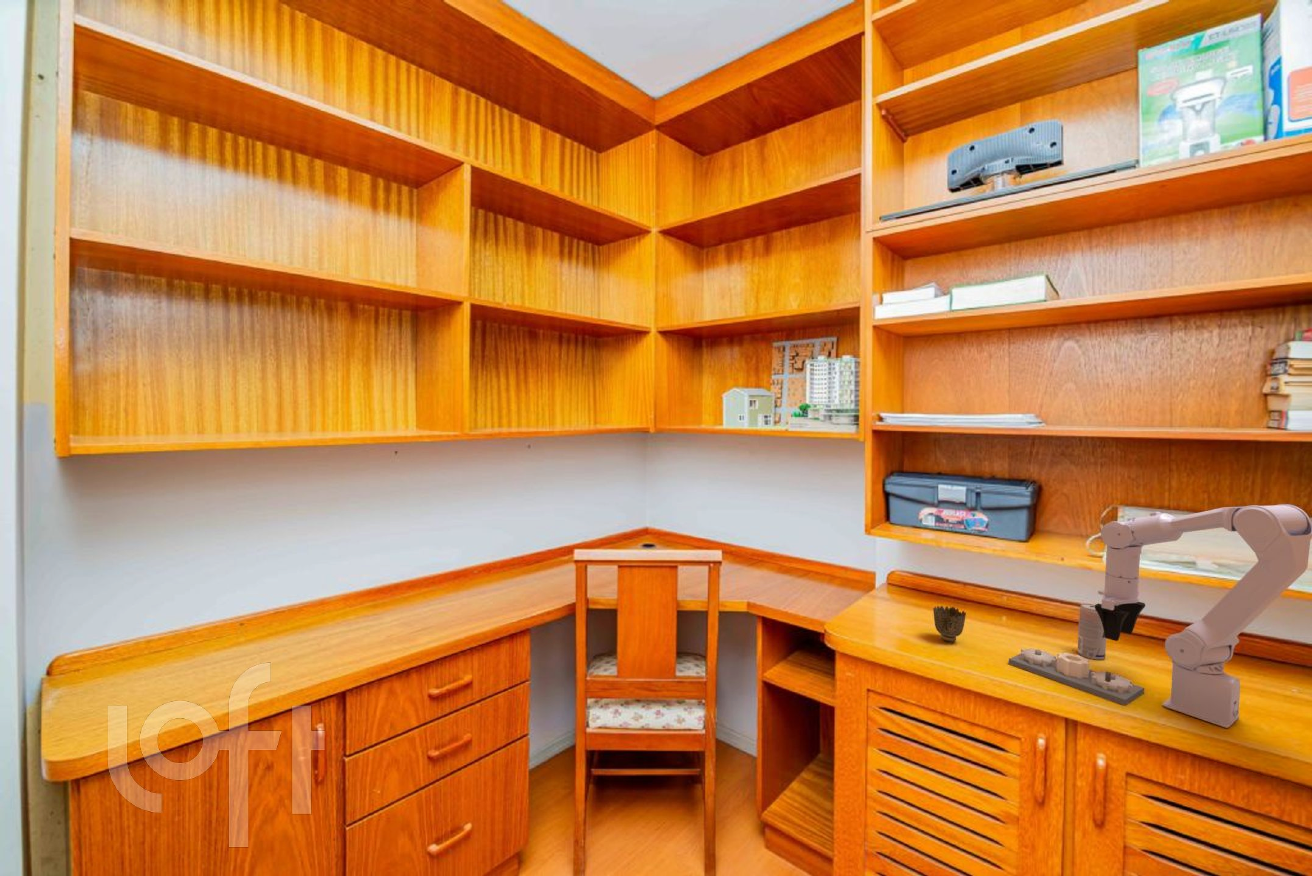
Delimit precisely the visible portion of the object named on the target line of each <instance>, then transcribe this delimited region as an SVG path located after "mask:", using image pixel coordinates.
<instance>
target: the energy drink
mask: <svg viewBox="0 0 1312 876" xmlns="http://www.w3.org/2000/svg"><path fill="white" fill-rule="evenodd" d="M1095 605H1096V604H1092V603H1082V604H1080V606H1079V612H1078V615H1079V616H1078V635H1077V636H1078V637H1077V638H1078V639H1077V653H1078V655H1079V656H1081V657H1083V658H1085V659H1089V660H1090V659H1091V660H1094V661H1095V660H1097V661H1102V660H1104V659H1106V651H1107V650H1106V649H1107V638H1106V637H1105V634H1104V630H1103V625H1102V622H1101V619H1100V617H1099V614H1098V613H1097V611H1096V610H1095Z"/></svg>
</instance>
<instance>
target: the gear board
mask: <svg viewBox="0 0 1312 876" xmlns="http://www.w3.org/2000/svg"><path fill="white" fill-rule="evenodd" d="M1070 660H1072V659H1070ZM1074 661H1076V660H1074ZM1007 662H1008V665H1010V666H1013V667H1016V668H1018V667H1019V668H1020V669H1022V670H1025V671H1028V672H1029V673H1032V674H1035V675H1039V676H1040V677H1045V678H1047V679H1049V678H1050V679H1049V680H1052V681H1055V682H1058V683H1061V684H1063V685H1067V686H1069V687H1072V688H1074V689H1077V690H1080V691H1083V692H1086V693H1088V694H1090V695H1091V694H1092V695H1094V696H1097V697H1099V698H1102V699H1105V700H1108V701H1110V702H1114V703H1116V704H1119V705H1122V706H1127V705H1129V704H1130V703H1132V702H1133V701H1135V700H1136V699H1138V698H1139V697H1141V696H1142V695H1144V694H1145V687H1144V686H1143V687H1142V686H1140V685H1137V684H1133V683H1132V680H1130V679H1127V678H1125V677H1123V676H1121V675H1120V674H1115V673H1112V672H1110V671H1103V670H1101V671H1098V672H1097V671H1095V670H1091V669H1090V670H1089V678H1082V679H1080V678H1076V677H1072V676H1066V675H1064V674H1063V673H1062V672H1058V671H1057V655H1055V654H1054V655H1053V654H1051V653H1048V652H1047V651H1046V650H1039V649H1035V648H1033V647H1032V648H1031V647H1029V648H1026V649H1025V648H1021V649H1020V653H1019V654H1017V655H1015V656H1011V658H1008V661H1007Z"/></svg>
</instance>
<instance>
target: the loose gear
mask: <svg viewBox="0 0 1312 876" xmlns="http://www.w3.org/2000/svg"><path fill="white" fill-rule="evenodd" d="M1056 659H1057V671H1058V672H1062V673H1063V674H1064V675H1066V676H1072V677H1076V678H1080V679H1082V678H1089V670H1091V666H1090V665H1091V663H1090V659H1089V658H1086V657H1084V656H1081V655H1080V654H1072V653H1070V652H1064V653H1060V652H1058V653H1057V655H1056ZM1070 659H1072V660H1070ZM1074 660H1076V661H1074Z"/></svg>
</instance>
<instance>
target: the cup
mask: <svg viewBox="0 0 1312 876" xmlns="http://www.w3.org/2000/svg"><path fill="white" fill-rule="evenodd" d="M932 609H933V621H934V626H935V630H936V631H937V632H938V633H939V634H940V639H941V641H942V642H945V643H952V644H953V643H956V642H957V637H959V636H960V635H961V634H962V633H963V631H964V626H965V621H966V616H967V612H965V610H962V611H959V607H958V608H955V606H950V607H949V606H948V605H946V606H945V607H943V606H942V605H940V606H939V605H937V606H934V607H932Z"/></svg>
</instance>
